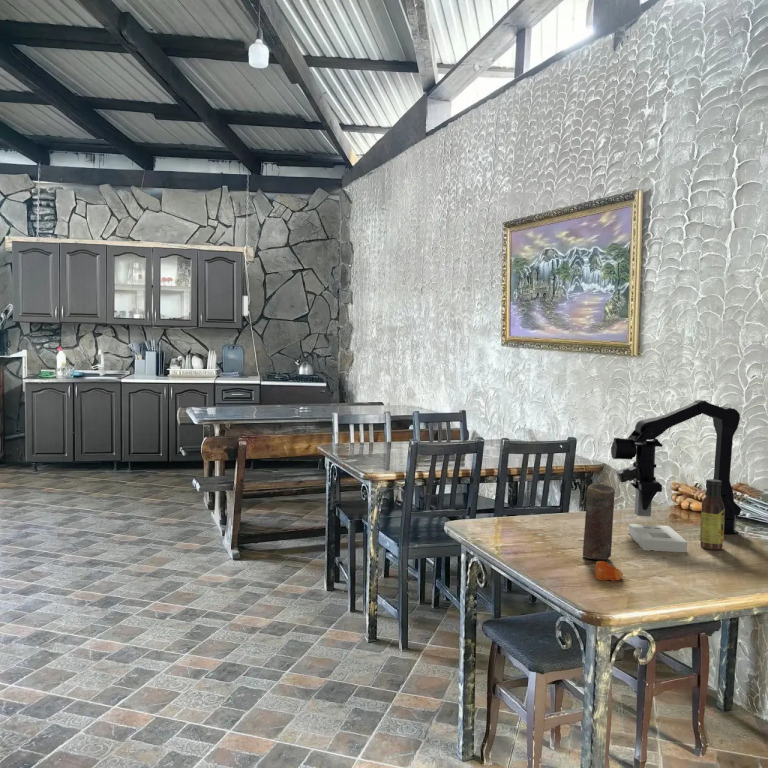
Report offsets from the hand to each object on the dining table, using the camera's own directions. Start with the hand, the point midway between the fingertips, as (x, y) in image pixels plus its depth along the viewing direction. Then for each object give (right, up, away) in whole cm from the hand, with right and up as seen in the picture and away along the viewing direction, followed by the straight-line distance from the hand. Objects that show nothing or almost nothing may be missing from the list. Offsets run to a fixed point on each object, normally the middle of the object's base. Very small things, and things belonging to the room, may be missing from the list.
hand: (643, 508), depth 225 cm
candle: (-25, -8, -33) cm, 42 cm away
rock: (-27, -10, -49) cm, 57 cm away
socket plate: (-2, -8, -16) cm, 17 cm away
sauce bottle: (+13, -8, -19) cm, 25 cm away
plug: (0, -2, 0) cm, 2 cm away
